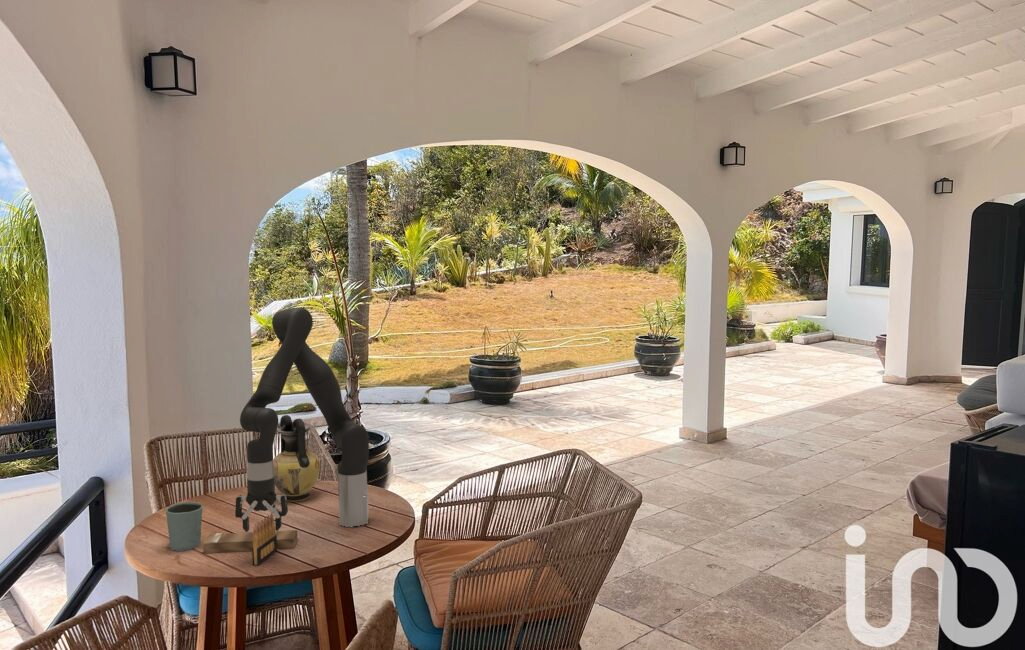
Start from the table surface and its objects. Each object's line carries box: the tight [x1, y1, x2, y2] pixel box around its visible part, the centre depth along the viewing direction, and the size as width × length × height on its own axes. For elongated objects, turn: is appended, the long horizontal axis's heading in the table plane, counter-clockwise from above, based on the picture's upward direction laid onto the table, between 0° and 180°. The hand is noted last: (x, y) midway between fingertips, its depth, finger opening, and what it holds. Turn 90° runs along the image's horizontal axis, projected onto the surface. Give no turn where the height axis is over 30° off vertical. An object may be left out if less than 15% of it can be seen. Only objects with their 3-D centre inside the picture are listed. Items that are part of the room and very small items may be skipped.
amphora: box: [273, 414, 321, 503], centre depth 265 cm, size 18×17×30 cm
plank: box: [202, 529, 299, 554], centre depth 223 cm, size 26×7×3 cm, turn 97°
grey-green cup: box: [165, 501, 203, 552], centre depth 224 cm, size 10×10×12 cm
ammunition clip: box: [251, 512, 278, 567], centre depth 214 cm, size 11×2×12 cm, turn 168°
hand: (262, 530), depth 214 cm, fingers open, 8 cm apart
